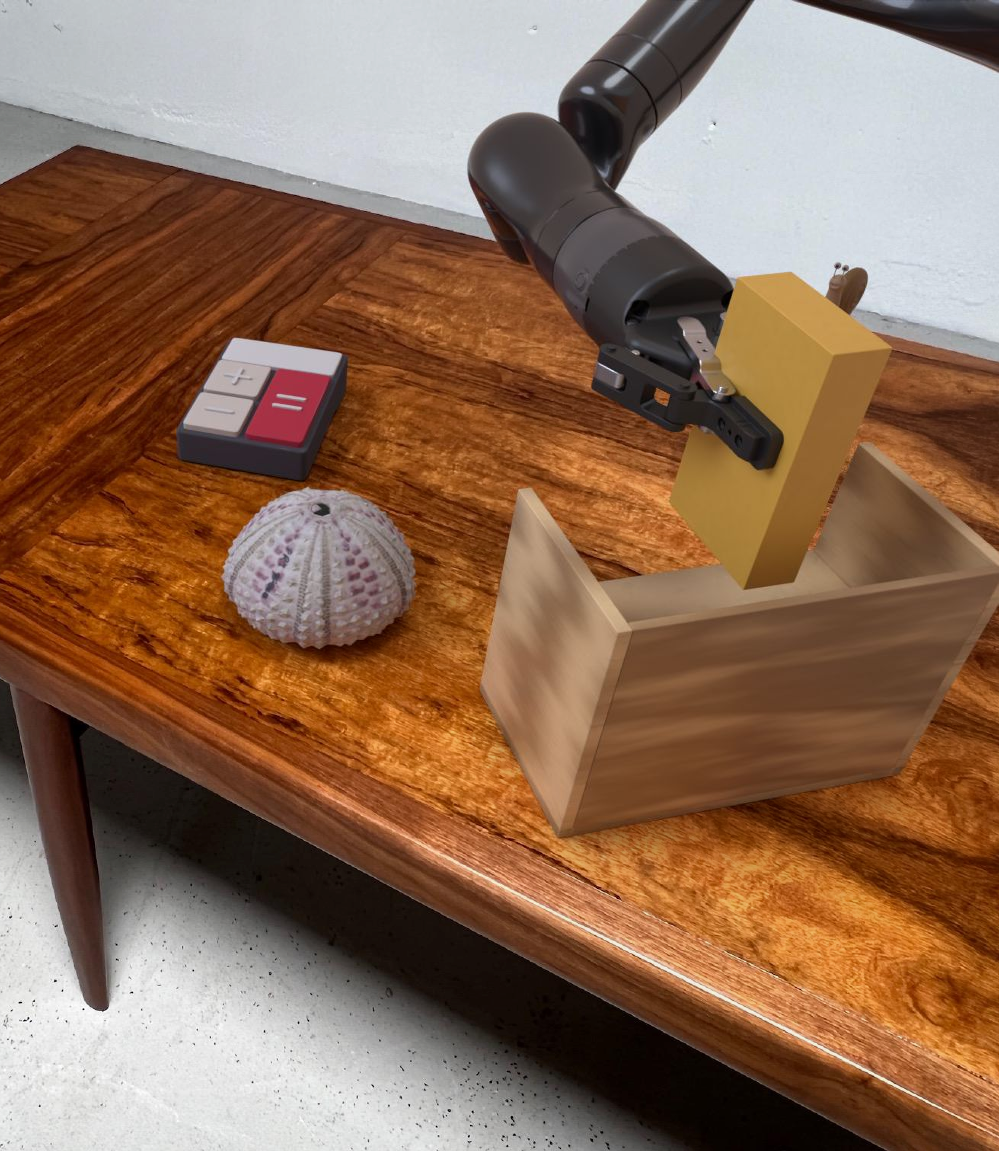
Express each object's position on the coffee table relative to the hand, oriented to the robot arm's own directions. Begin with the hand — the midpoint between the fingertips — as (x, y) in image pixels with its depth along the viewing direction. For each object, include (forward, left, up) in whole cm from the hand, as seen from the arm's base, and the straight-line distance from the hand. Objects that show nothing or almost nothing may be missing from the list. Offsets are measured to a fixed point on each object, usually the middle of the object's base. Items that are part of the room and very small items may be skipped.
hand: (805, 449), depth 55 cm
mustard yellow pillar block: (-1, -2, -8) cm, 8 cm away
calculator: (-6, -44, -22) cm, 50 cm away
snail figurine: (-48, -16, -22) cm, 55 cm away
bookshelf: (-1, -1, -22) cm, 22 cm away
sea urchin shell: (+7, -25, -22) cm, 34 cm away
